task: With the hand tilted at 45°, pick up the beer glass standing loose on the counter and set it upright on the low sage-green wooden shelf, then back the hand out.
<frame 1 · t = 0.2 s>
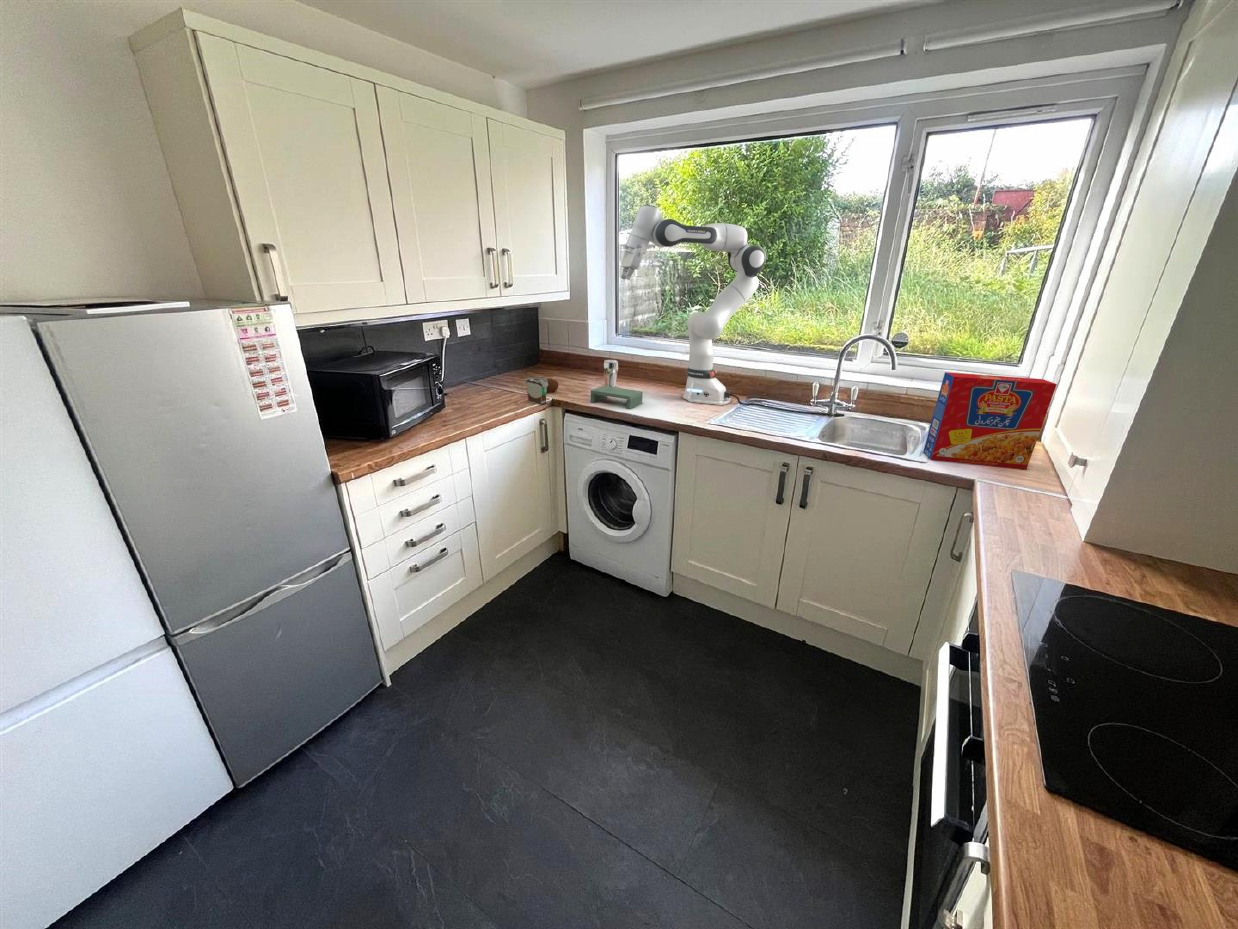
hand: (625, 279, 211), 52 cm above the countertop, tool tilted 20°, fingers open, 8 cm apart
shelf: (616, 402, 223), on the countertop
food container: (540, 402, 220), on the countertop
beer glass: (610, 392, 243), on the countertop
pasta box: (972, 461, 167), on the countertop
potato: (550, 392, 239), on the countertop
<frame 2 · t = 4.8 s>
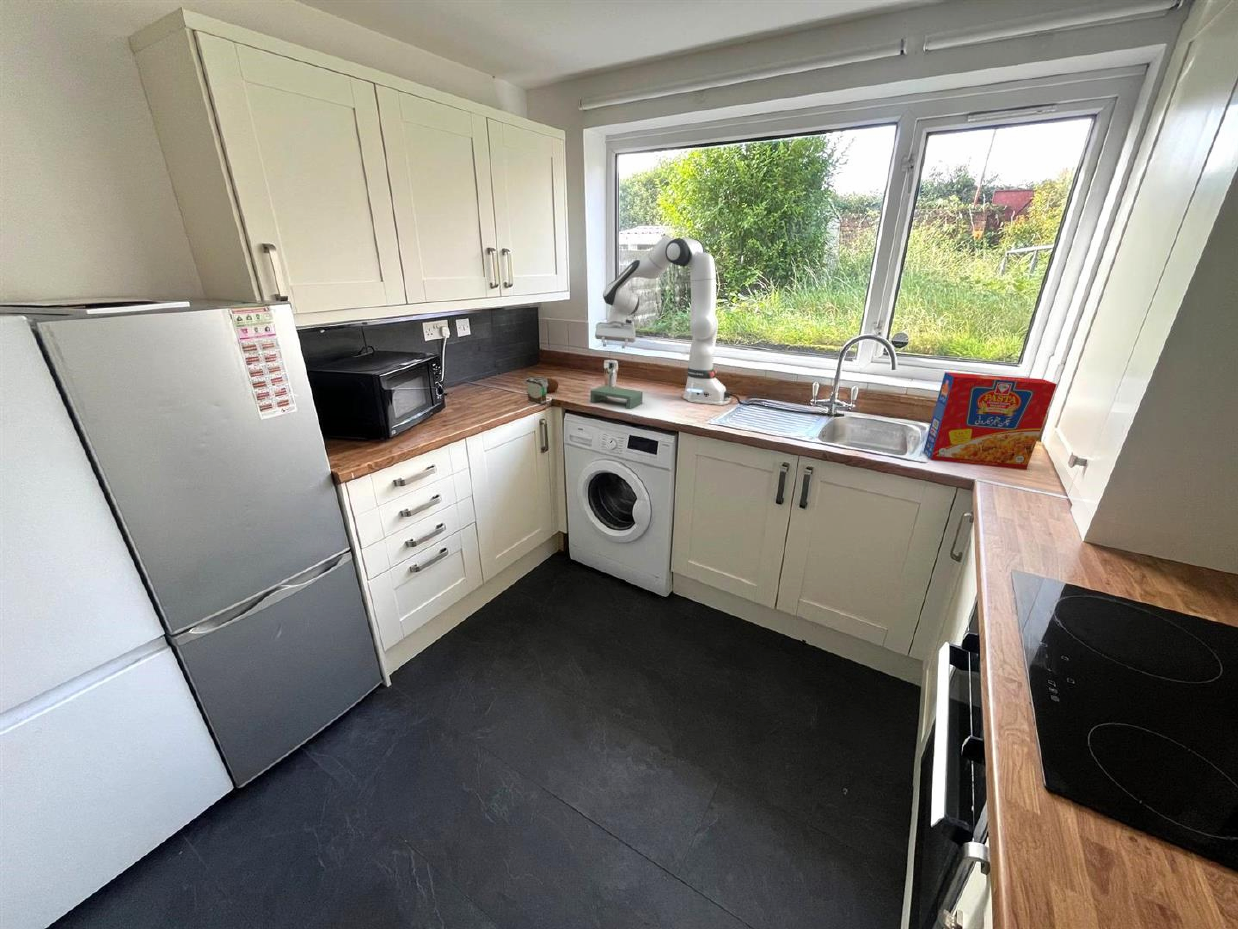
hand: (613, 346, 246), 20 cm above the countertop, tool tilted 45°, fingers open, 8 cm apart
nothing on the countertop moved.
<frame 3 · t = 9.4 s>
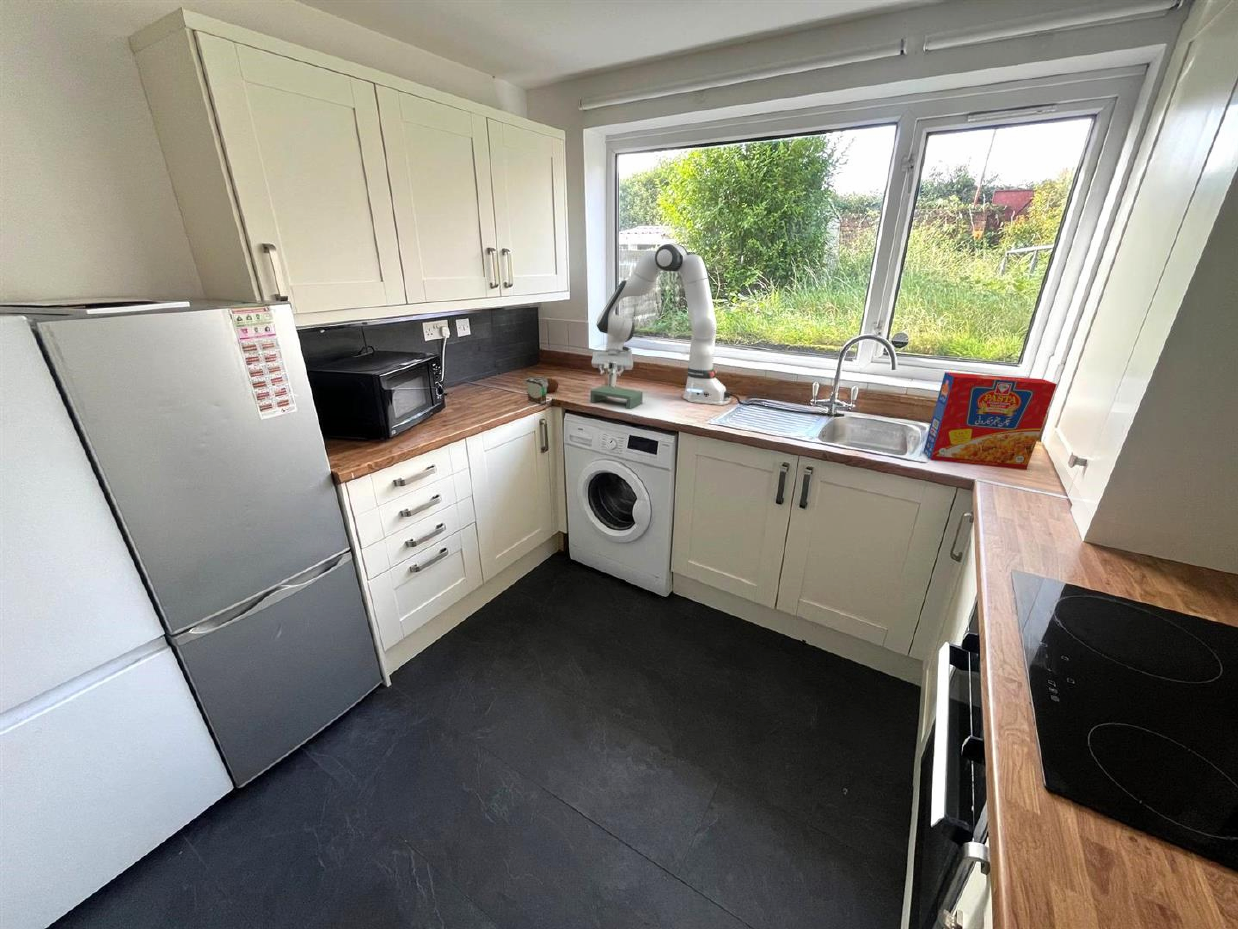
hand: (610, 374, 239), 8 cm above the countertop, tool tilted 45°, fingers closed on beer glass, 7 cm apart
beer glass: (610, 392, 243), on the countertop, touching gripper
everything else where it was.
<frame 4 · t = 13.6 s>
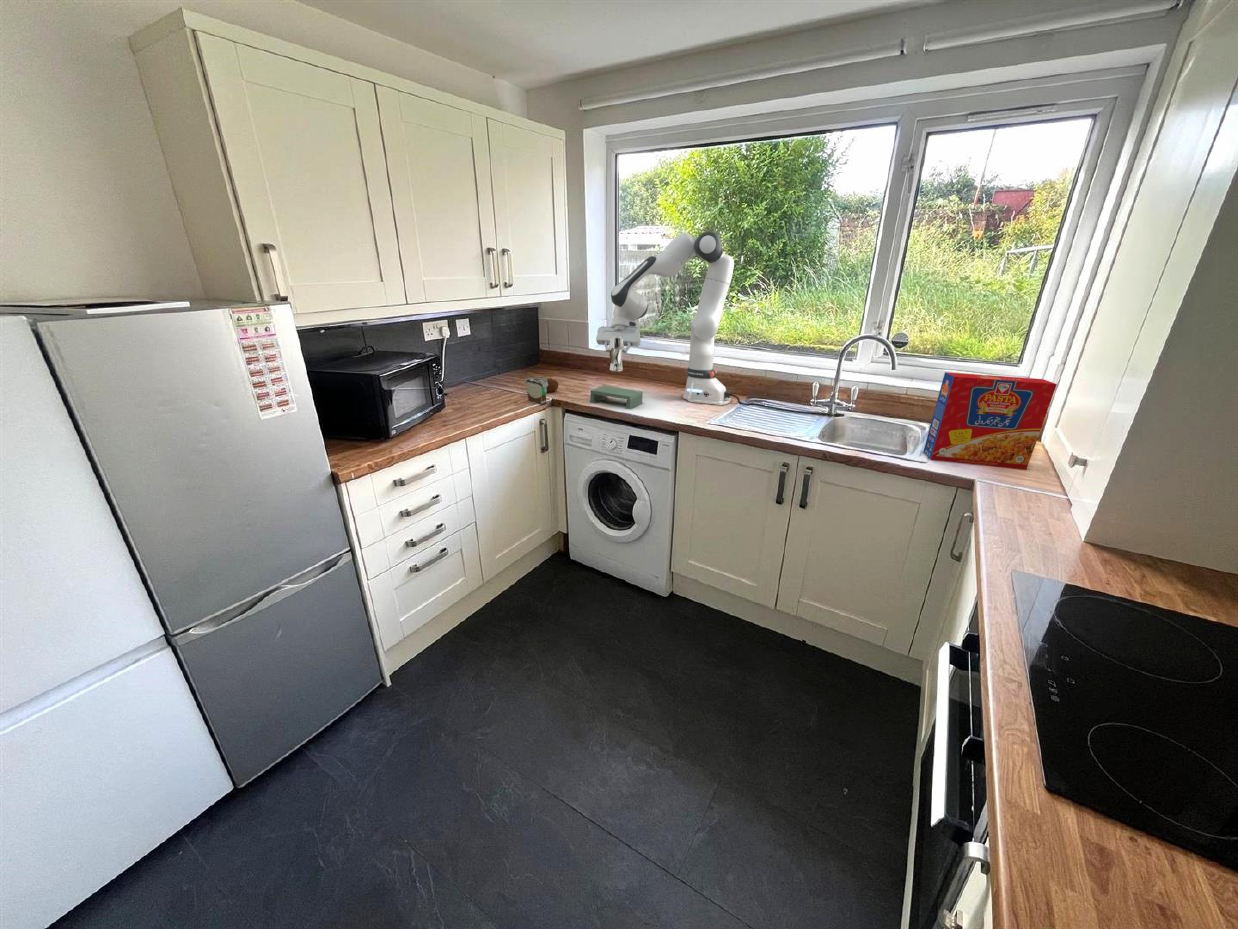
hand: (616, 351, 225), 21 cm above the countertop, tool tilted 45°, fingers closed on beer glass, 7 cm apart
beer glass: (616, 370, 228), point 12 cm above the countertop, touching gripper
everything else where it was.
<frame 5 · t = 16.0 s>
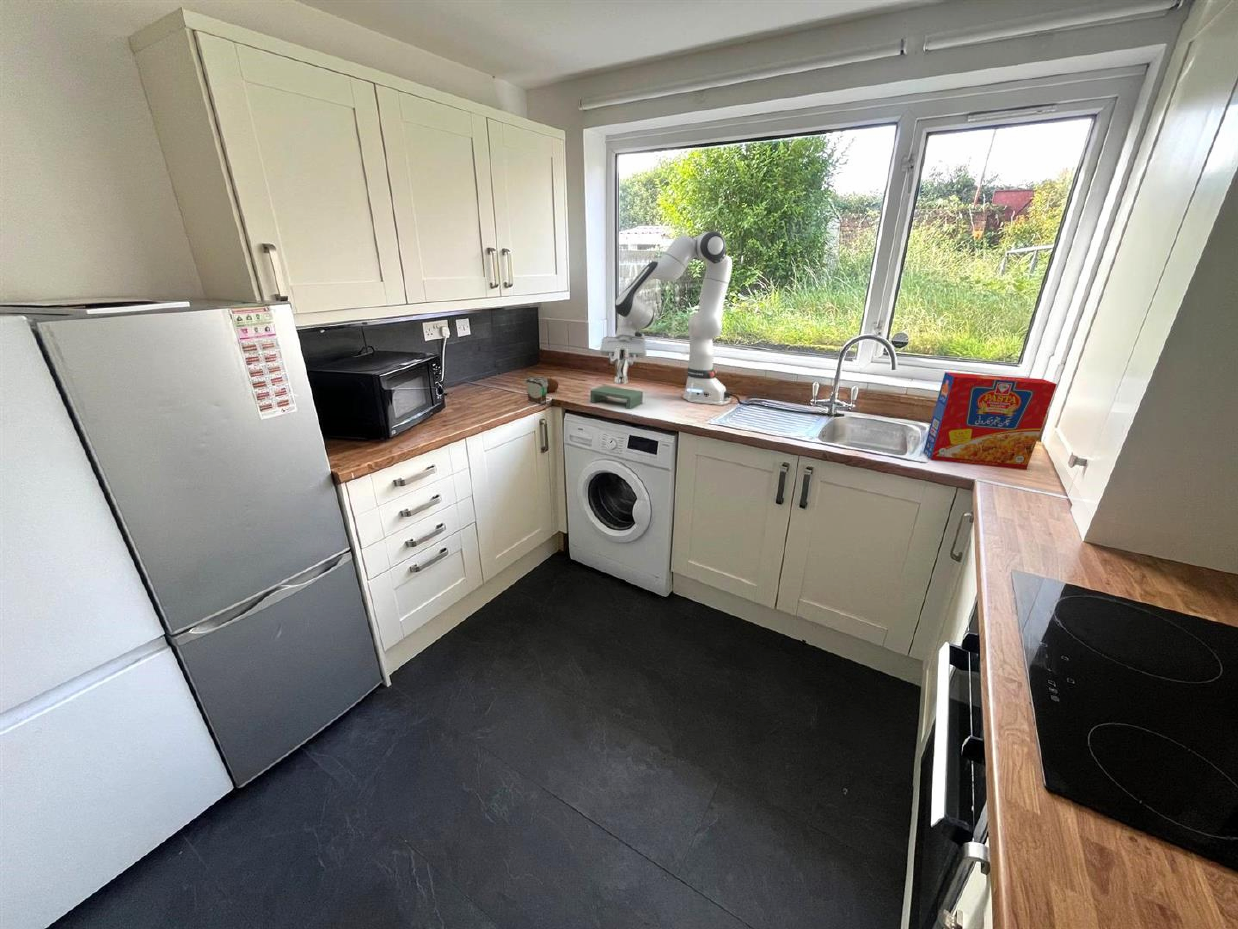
hand: (621, 363, 215), 18 cm above the countertop, tool tilted 45°, fingers closed on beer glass, 7 cm apart
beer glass: (620, 382, 219), point 9 cm above the countertop, touching gripper
everything else where it was.
when the fingers open (14 cm above the countertop, at t = 17.8 s): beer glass stays where it is, resting on shelf.
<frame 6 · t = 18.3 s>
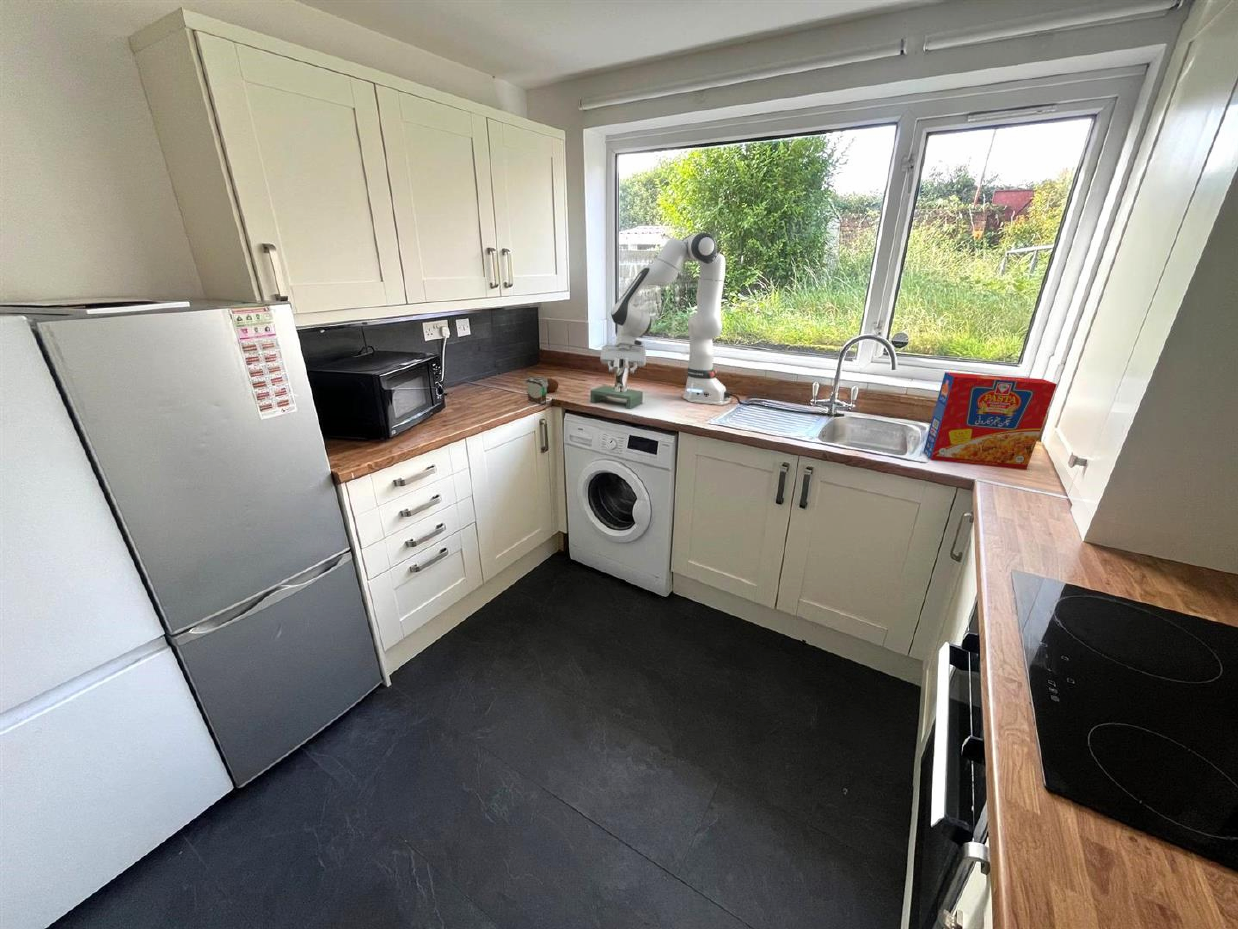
hand: (621, 371, 217), 14 cm above the countertop, tool tilted 45°, fingers open, 8 cm apart
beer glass: (620, 391, 220), point 5 cm above the countertop, touching shelf
everything else where it was.
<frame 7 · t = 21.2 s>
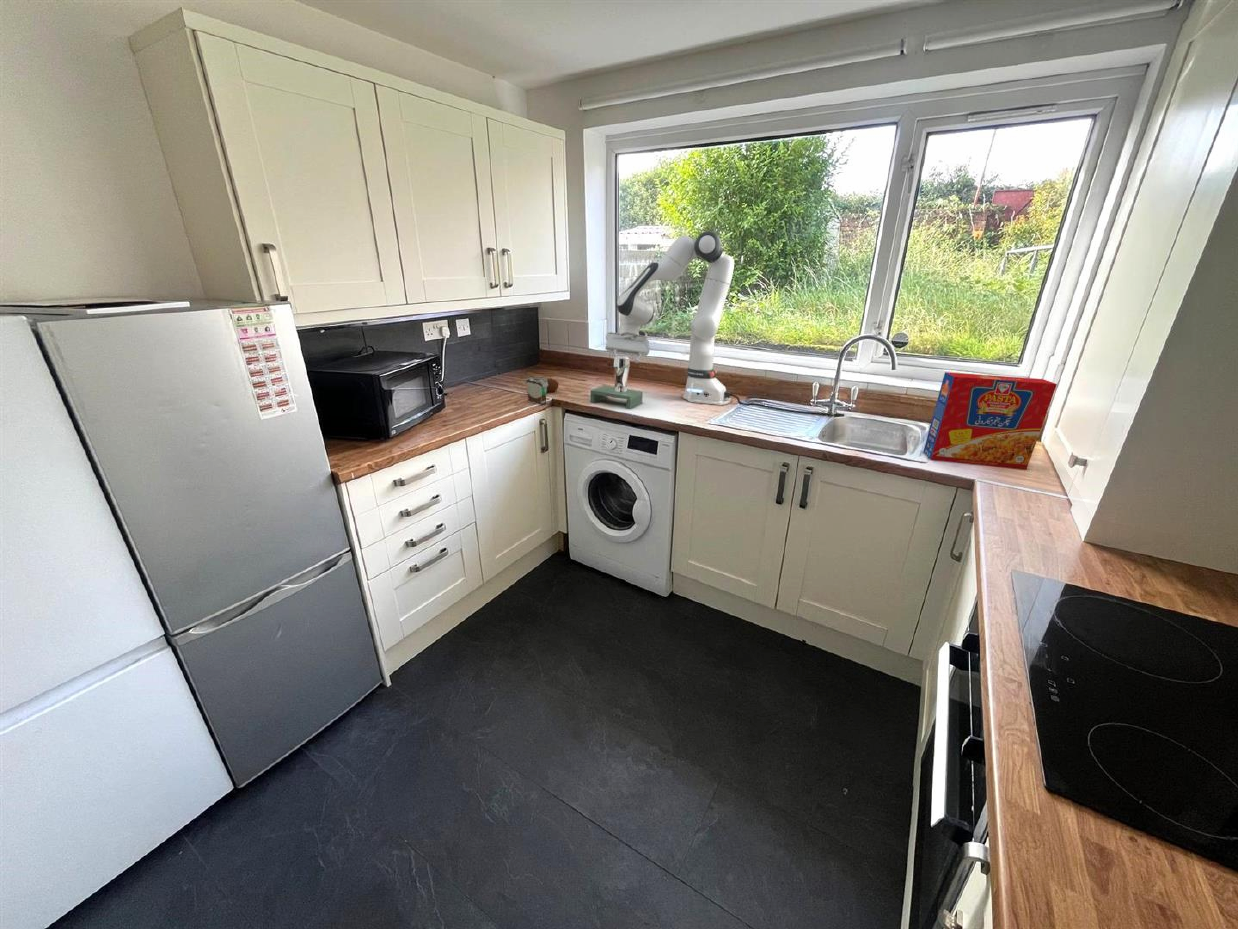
hand: (626, 360, 228), 17 cm above the countertop, tool tilted 40°, fingers open, 8 cm apart
nothing on the countertop moved.
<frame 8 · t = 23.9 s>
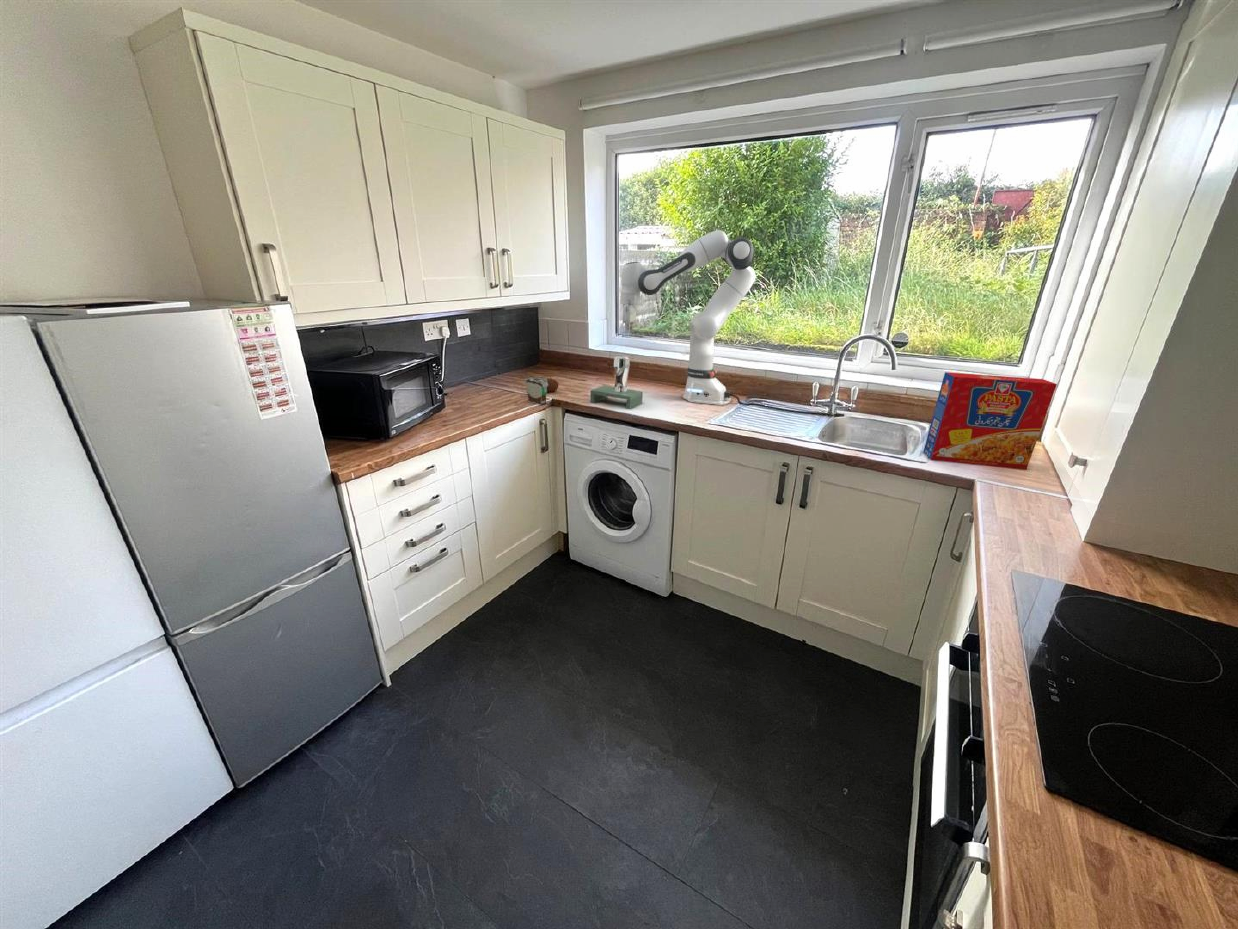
hand: (628, 331, 230), 29 cm above the countertop, tool pointing down, fingers open, 8 cm apart
nothing on the countertop moved.
at the end: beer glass inside the target area on the shelf (1.9 cm from its centre), point 5.3 cm above the shelf's base; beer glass tilted 0°; the gripper is holding nothing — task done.
